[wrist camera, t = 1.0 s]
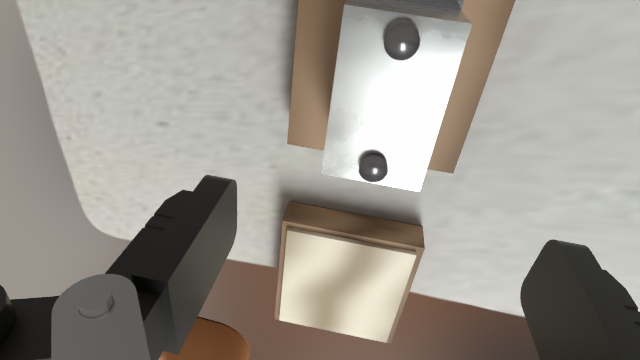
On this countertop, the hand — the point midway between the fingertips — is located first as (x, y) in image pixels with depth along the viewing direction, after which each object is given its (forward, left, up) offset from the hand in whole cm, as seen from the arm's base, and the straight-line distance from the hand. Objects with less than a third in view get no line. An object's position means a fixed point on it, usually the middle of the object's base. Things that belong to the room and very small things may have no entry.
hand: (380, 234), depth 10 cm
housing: (0, 0, -15) cm, 15 cm away
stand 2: (0, +19, -18) cm, 26 cm away
